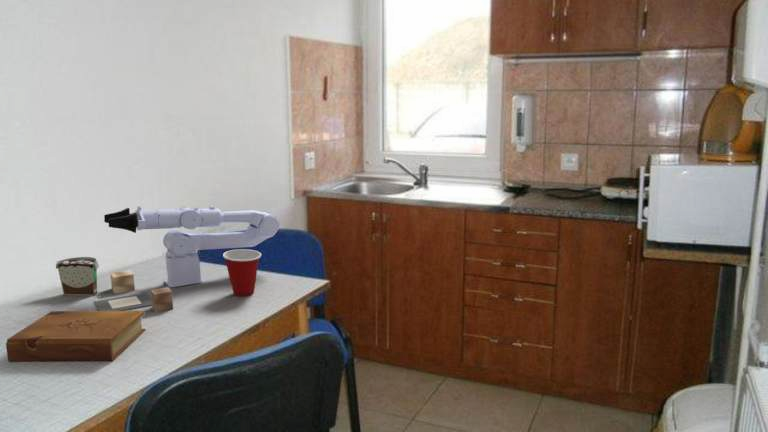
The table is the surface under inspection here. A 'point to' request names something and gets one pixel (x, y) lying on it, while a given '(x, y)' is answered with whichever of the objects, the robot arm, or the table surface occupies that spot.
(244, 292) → the plastic cup
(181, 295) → the table surface
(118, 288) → the oak block
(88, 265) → the food container
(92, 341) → the diary
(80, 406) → the table surface
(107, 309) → the gray rectangular panel
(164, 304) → the walnut block
